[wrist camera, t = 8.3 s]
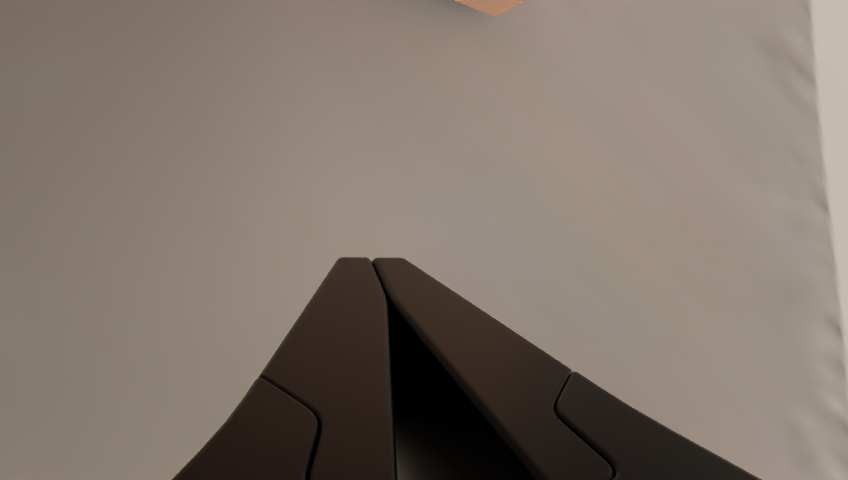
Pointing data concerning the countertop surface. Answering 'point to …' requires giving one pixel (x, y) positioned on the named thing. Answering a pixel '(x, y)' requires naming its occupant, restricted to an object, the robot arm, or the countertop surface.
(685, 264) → the countertop surface
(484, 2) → the salmon rectangular block
